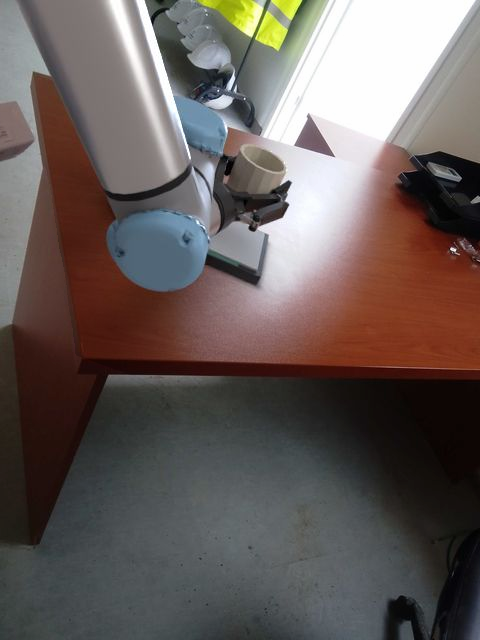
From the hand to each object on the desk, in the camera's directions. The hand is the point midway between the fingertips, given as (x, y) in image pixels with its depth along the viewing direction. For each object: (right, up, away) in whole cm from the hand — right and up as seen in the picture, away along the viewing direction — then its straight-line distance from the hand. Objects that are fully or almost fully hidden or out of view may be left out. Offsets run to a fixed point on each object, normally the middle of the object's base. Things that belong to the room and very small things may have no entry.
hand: (265, 173), depth 80 cm
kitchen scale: (-8, -11, +6) cm, 15 cm away
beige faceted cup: (-4, -6, +1) cm, 8 cm away
